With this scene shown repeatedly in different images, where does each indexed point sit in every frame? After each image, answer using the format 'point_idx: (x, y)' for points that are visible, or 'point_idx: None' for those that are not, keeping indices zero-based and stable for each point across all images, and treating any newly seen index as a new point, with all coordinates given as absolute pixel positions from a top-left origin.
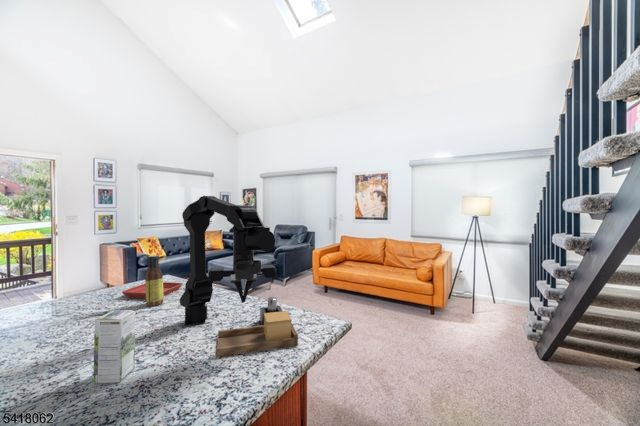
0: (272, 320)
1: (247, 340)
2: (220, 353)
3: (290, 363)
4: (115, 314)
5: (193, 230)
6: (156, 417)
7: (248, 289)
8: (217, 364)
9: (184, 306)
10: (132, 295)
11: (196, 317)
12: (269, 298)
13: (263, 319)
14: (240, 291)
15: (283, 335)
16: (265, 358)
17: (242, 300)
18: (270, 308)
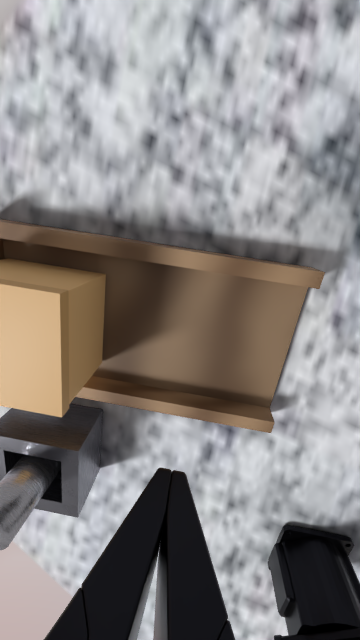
0: (25, 304)
1: (173, 336)
2: (300, 266)
3: (42, 65)
4: None
5: None
6: None
7: (57, 636)
8: (324, 204)
9: None
10: None
11: (319, 559)
12: (2, 538)
13: (83, 433)
14: (200, 630)
15: (24, 266)
16: (134, 164)
17: (178, 487)
18: (30, 476)
